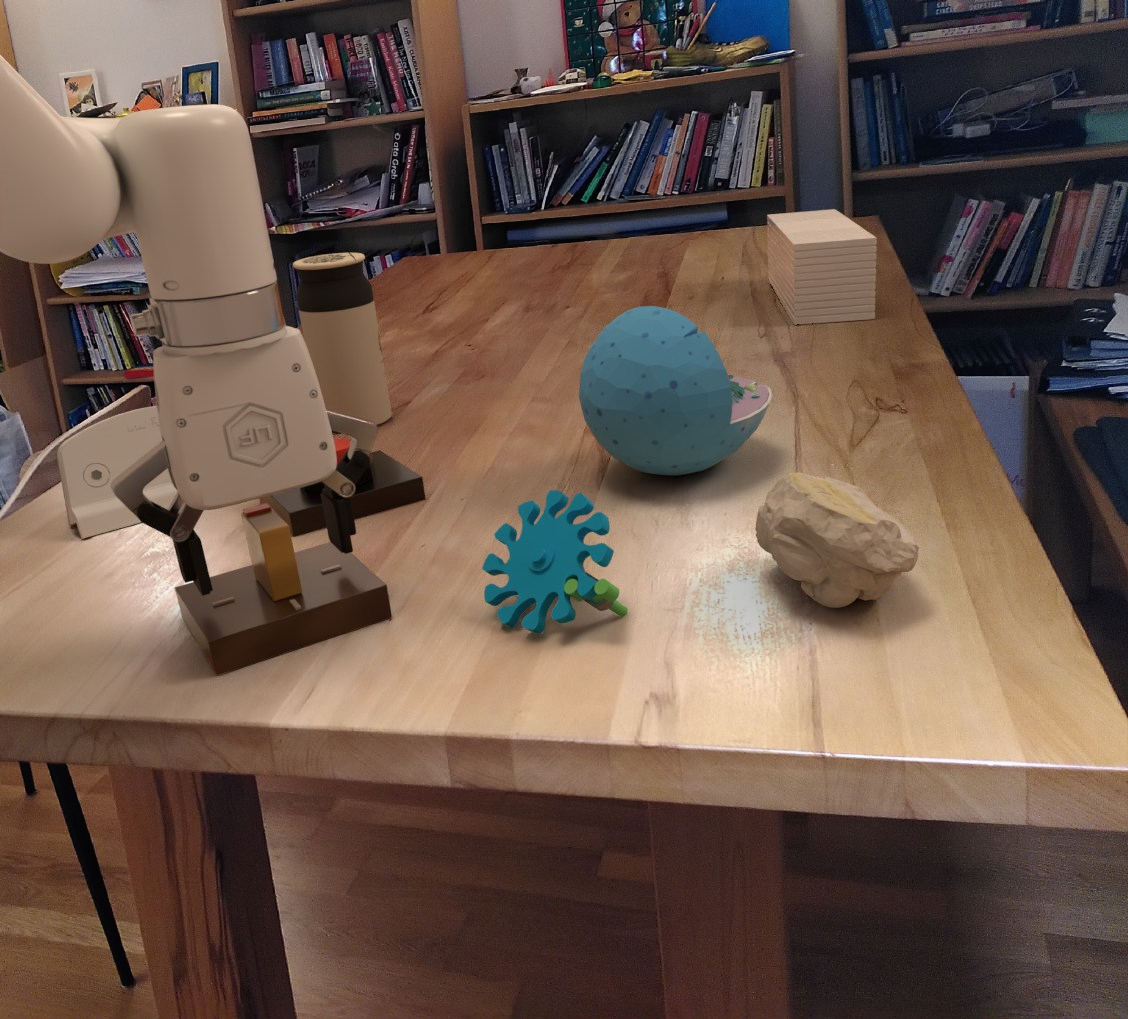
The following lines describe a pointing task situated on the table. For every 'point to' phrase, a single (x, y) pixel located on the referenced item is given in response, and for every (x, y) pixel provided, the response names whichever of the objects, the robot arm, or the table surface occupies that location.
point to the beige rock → (833, 539)
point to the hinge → (109, 470)
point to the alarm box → (373, 494)
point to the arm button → (341, 448)
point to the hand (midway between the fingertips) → (274, 566)
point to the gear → (551, 564)
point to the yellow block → (271, 551)
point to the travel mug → (343, 335)
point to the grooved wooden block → (822, 266)
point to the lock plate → (282, 609)
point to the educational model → (665, 395)
